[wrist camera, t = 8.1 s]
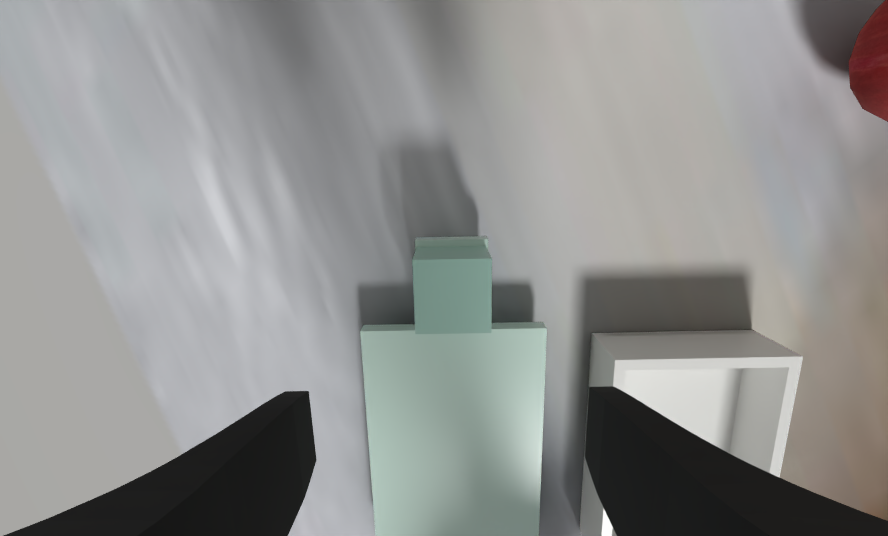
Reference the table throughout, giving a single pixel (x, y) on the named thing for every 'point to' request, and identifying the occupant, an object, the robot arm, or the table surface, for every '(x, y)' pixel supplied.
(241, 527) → the robot arm
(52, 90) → the table surface
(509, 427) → the lid
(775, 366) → the tub
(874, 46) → the onion
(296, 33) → the table surface
